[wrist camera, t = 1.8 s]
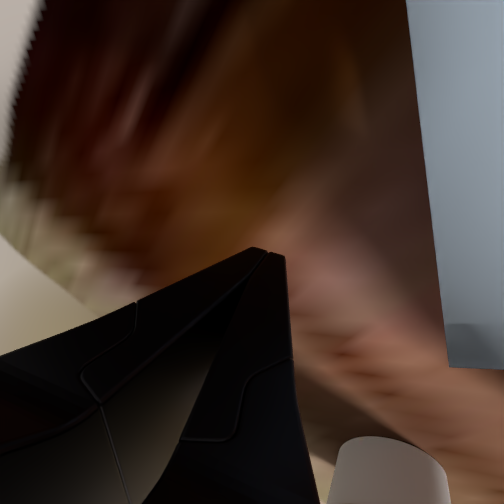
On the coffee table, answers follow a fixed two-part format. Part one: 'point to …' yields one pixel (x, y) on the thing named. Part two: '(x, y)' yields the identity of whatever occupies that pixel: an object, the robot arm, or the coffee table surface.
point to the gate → (464, 166)
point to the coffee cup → (386, 474)
